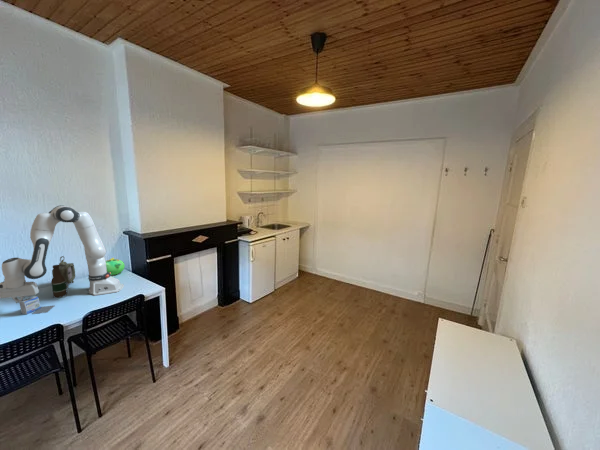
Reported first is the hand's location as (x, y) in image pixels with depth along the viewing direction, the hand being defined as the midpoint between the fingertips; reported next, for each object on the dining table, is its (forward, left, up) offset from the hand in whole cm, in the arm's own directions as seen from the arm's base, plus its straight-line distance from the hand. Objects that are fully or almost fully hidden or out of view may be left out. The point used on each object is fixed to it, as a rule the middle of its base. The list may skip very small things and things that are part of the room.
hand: (19, 302), depth 167 cm
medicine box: (-5, 0, -7) cm, 9 cm away
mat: (-12, 0, -7) cm, 14 cm away
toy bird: (-33, -57, -7) cm, 66 cm away
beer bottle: (-11, -21, -7) cm, 25 cm away
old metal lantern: (-6, -39, -7) cm, 40 cm away
